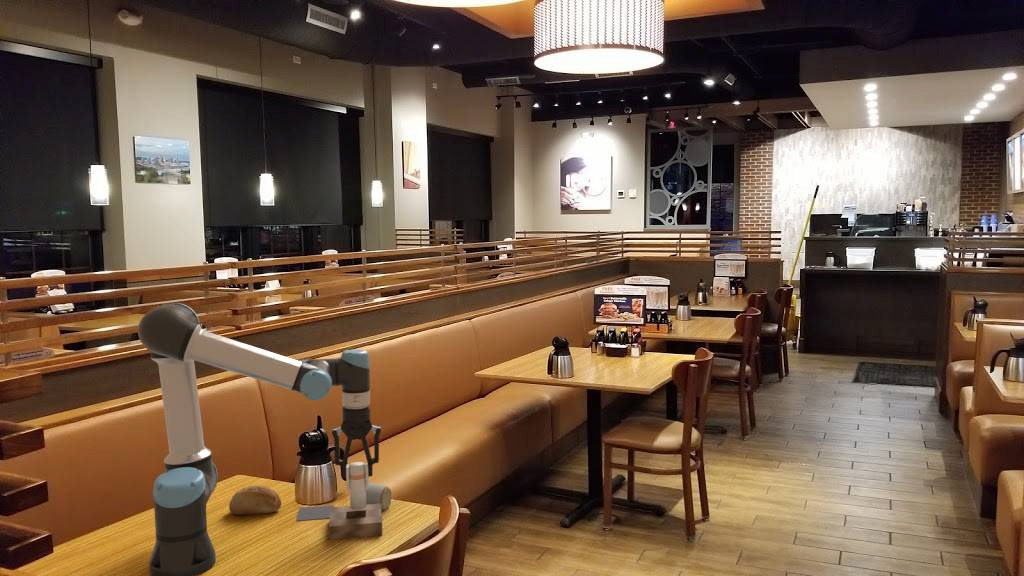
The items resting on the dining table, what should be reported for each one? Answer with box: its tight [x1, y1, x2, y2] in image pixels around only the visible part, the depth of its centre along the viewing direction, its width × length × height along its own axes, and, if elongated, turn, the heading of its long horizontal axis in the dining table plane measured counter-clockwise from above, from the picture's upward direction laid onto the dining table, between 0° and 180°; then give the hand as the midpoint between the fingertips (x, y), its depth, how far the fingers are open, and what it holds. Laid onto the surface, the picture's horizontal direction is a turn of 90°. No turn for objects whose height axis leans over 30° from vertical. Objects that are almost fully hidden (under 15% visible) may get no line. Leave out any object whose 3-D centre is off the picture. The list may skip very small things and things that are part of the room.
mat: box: [295, 504, 335, 522], centre depth 217 cm, size 10×10×1 cm
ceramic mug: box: [366, 481, 393, 511], centre depth 222 cm, size 11×8×8 cm
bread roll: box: [228, 484, 282, 516], centre depth 219 cm, size 10×15×8 cm, turn 96°
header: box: [328, 504, 384, 541], centre depth 206 cm, size 14×14×4 cm
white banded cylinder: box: [349, 461, 366, 509], centre depth 206 cm, size 4×4×12 cm
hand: (357, 488), depth 206 cm, fingers closed on white banded cylinder, 4 cm apart
